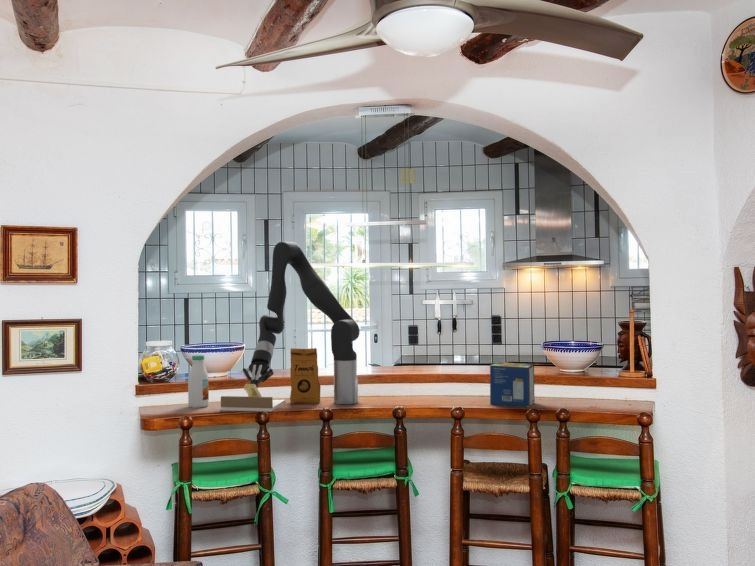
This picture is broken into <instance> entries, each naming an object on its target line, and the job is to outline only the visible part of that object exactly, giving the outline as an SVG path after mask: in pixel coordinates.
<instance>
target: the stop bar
mask: <svg viewBox="0 0 755 566" xmlns="http://www.w3.org/2000/svg"><path fill="white" fill-rule="evenodd" d="M243 389H244V390H245V393H246V394H247V397H262V395H261V393H260V391H259V389H258V388H257V387H256V385H255V384H250V383H245V384H244V387H243Z"/></svg>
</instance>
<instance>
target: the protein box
mask: <svg viewBox="0 0 755 566" xmlns="http://www.w3.org/2000/svg"><path fill="white" fill-rule="evenodd" d="M489 381H490V382H489V390H490V392H489V404H490V405H492V404H494V405H495V406H504V405H505V406H504V407H507V406H508V407H517V406H529V407H531V406H532V405H533V404H535V403H536V402H535V364H534V363H516V362H515V363H513V362H498V361H497V362H495V363H492V364H490V365H489ZM530 405H531V406H530Z"/></svg>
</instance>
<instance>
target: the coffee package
mask: <svg viewBox="0 0 755 566" xmlns="http://www.w3.org/2000/svg"><path fill="white" fill-rule="evenodd" d="M317 351H318V349H317V348H316V347H315V348H290V352H289V353H290V368H289V369H290V372H289V373H290V375H289V376H290V384H291V385H290V388H291V389H290V396H289V402H290V403H292V404H298V405H299V404H303V405H305V404H307V405H309V404H311V405H312V404H319V403H320V402H321V383H320V380H319V366H318V365H319V364H318V352H317Z"/></svg>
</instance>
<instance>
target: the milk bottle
mask: <svg viewBox="0 0 755 566" xmlns="http://www.w3.org/2000/svg"><path fill="white" fill-rule="evenodd" d="M191 359H192V360H191V362H192V364H191V368H190V370H189V373H188V376H187V377H188V379H187V380H188V381H187V384H188V385H187V392H188V394H187V395H188V397H187V399H188V401H187V402H188V403H187V404H188V407H189V408H193V409H194V408H195V409H197V408H205V407H208V406H209V401H210V397H209V396H210V395H209V373H208V370H207V368H206V366H205V355H203V354H194V355H192V357H191Z"/></svg>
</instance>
